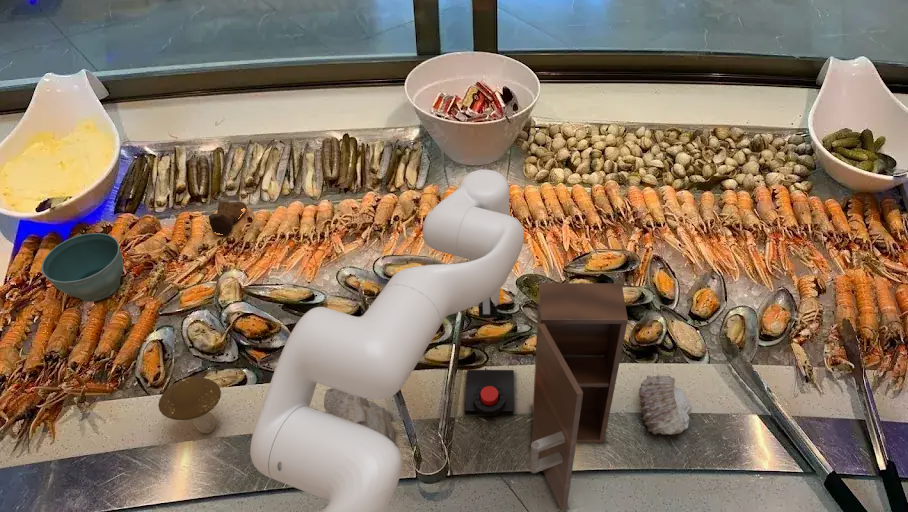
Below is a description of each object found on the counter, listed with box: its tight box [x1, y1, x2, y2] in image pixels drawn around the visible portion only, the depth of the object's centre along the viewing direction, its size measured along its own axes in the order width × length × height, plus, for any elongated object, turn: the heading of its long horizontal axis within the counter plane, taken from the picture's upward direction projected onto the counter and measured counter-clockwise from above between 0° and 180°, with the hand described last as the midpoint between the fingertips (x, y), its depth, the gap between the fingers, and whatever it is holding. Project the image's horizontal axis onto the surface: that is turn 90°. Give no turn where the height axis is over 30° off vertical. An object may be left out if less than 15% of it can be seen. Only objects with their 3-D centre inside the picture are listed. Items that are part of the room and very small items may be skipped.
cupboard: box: [532, 282, 629, 444], centre depth 122 cm, size 8×14×38 cm, turn 90°
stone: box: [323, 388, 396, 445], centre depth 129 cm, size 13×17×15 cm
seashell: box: [638, 374, 693, 435], centre depth 135 cm, size 14×9×10 cm
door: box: [529, 323, 583, 512], centre depth 113 cm, size 7×14×38 cm, turn 22°
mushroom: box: [157, 376, 222, 434], centre depth 129 cm, size 9×11×15 cm
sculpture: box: [208, 200, 248, 238], centre depth 176 cm, size 8×10×15 cm
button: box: [481, 386, 498, 406], centre depth 135 cm, size 4×4×2 cm
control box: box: [464, 369, 515, 417], centre depth 138 cm, size 11×10×4 cm
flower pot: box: [41, 232, 124, 303], centre depth 158 cm, size 16×16×11 cm
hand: (488, 313), depth 119 cm, fingers closed
